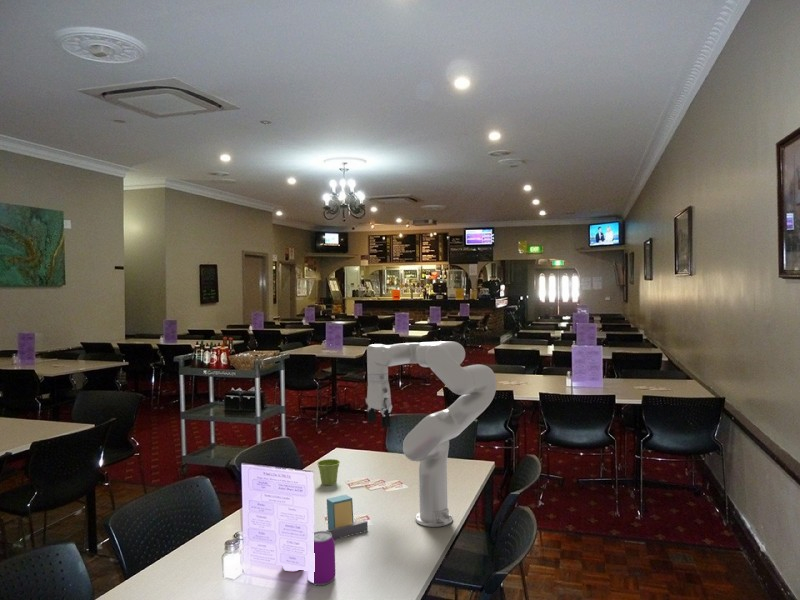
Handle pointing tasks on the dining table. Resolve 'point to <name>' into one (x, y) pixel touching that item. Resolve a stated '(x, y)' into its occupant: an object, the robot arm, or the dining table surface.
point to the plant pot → (328, 471)
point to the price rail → (348, 529)
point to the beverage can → (324, 557)
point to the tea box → (339, 511)
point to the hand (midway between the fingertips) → (378, 424)
